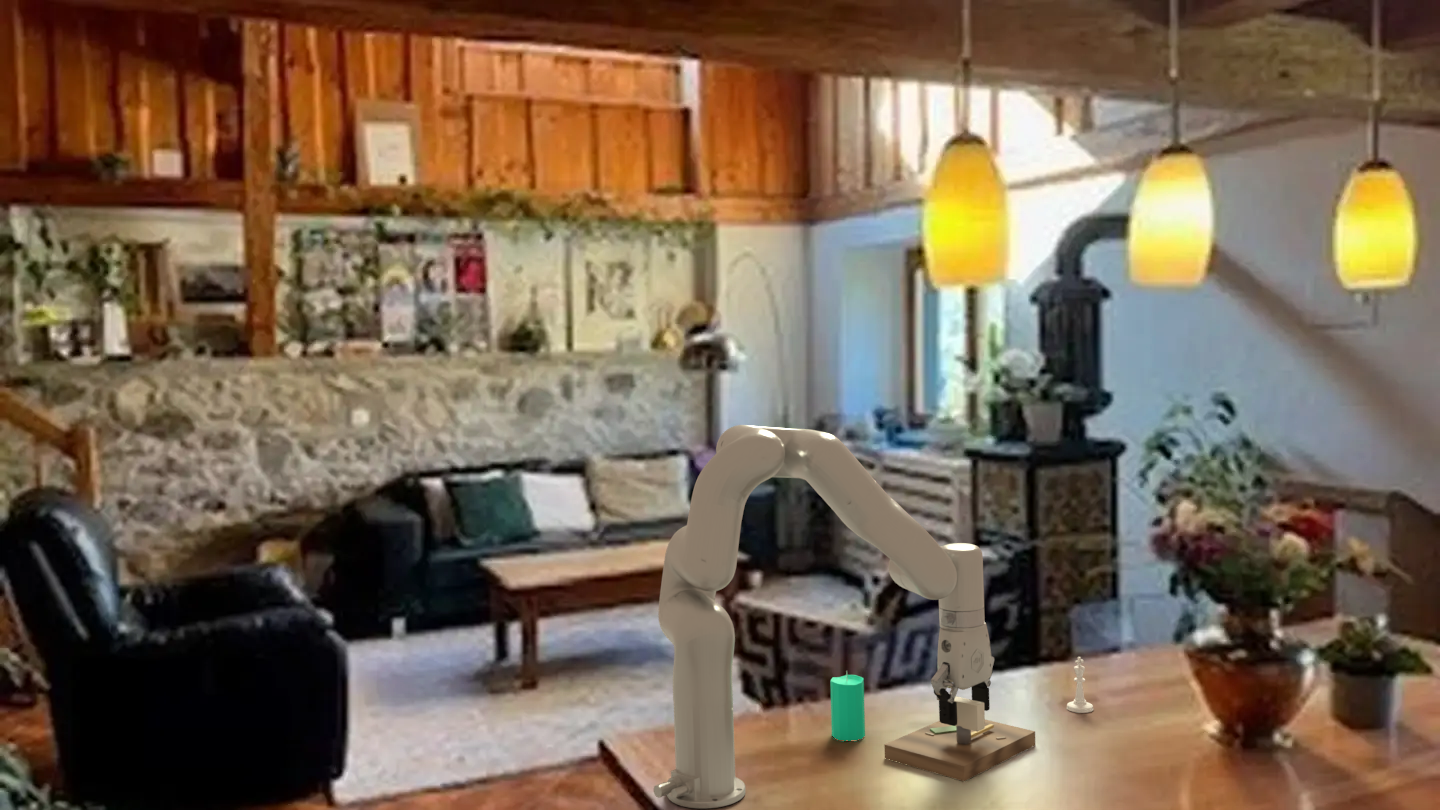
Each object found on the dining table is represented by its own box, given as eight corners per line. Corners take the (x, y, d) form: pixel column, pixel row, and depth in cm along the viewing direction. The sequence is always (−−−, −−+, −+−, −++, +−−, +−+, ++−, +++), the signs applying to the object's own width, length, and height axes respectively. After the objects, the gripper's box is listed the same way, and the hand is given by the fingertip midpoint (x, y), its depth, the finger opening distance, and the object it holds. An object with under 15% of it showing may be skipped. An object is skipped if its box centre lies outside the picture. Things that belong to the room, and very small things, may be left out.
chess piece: (1060, 707, 232) (1060, 656, 232) (1081, 703, 234) (1080, 652, 234) (1078, 714, 228) (1078, 662, 227) (1099, 710, 230) (1098, 658, 229)
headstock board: (964, 781, 197) (963, 764, 196) (884, 758, 208) (884, 742, 208) (1035, 745, 212) (1035, 729, 212) (957, 726, 223) (957, 711, 223)
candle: (864, 730, 223) (863, 666, 222) (865, 741, 217) (863, 675, 216) (831, 730, 223) (830, 666, 223) (831, 741, 217) (829, 675, 217)
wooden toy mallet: (977, 748, 204) (976, 706, 203) (942, 739, 209) (941, 697, 208) (1009, 732, 211) (1008, 692, 210) (975, 724, 216) (974, 684, 215)
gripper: (951, 631, 197) (954, 734, 198) (1008, 610, 209) (1011, 707, 210) (913, 624, 202) (916, 725, 203) (971, 604, 214) (974, 699, 216)
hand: (964, 716), depth 207 cm, fingers open, 9 cm apart
